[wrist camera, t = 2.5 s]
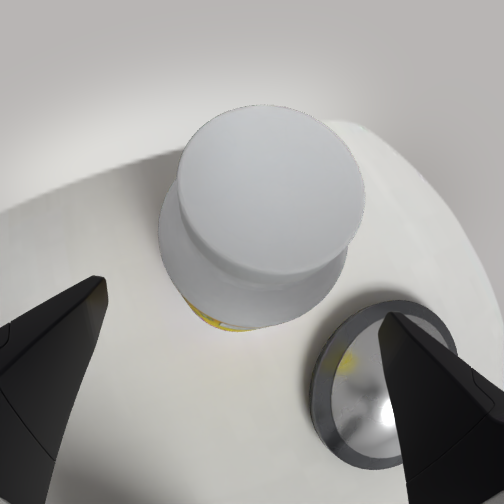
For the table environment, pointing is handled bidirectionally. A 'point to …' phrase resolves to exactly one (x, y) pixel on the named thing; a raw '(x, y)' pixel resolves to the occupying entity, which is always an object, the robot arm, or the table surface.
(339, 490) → the table surface
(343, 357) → the base
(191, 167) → the supplement bottle
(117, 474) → the table surface
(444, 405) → the robot arm
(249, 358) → the table surface
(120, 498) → the table surface
